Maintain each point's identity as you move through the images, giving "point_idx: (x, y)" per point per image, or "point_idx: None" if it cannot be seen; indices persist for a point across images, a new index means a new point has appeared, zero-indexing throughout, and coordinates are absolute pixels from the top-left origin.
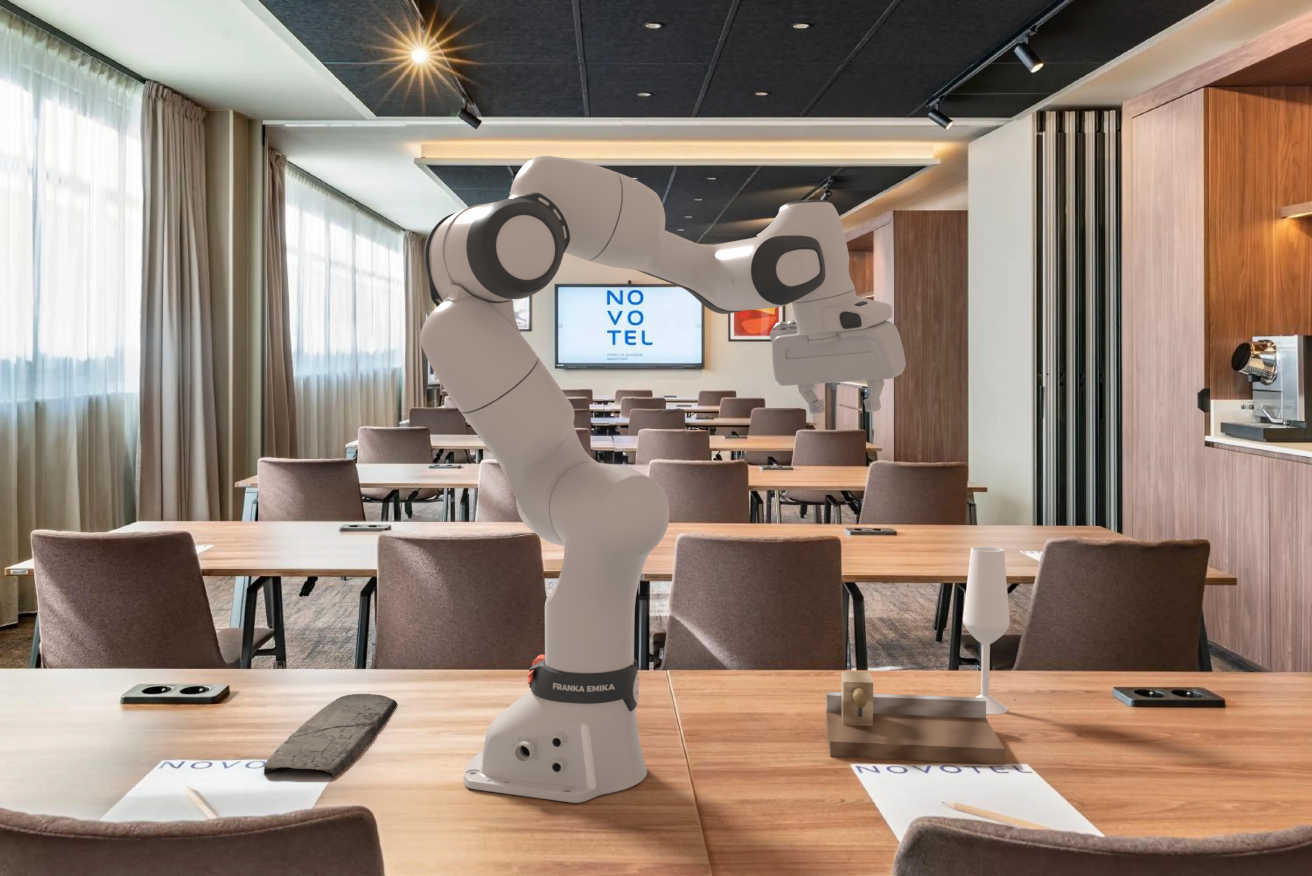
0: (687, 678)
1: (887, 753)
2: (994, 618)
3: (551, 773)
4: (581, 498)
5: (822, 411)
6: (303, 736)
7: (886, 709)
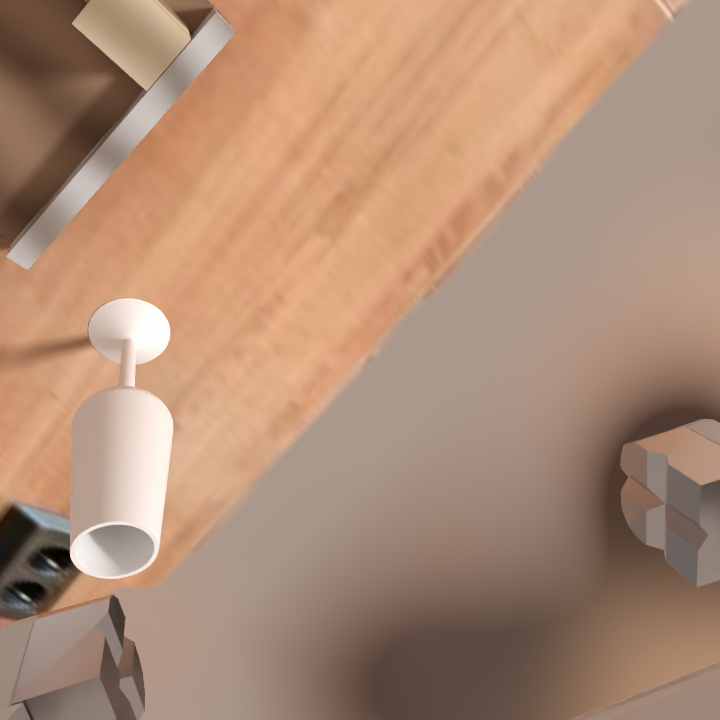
0: (610, 10)
1: None
2: (75, 423)
3: None
4: None
5: (625, 492)
6: None
7: (131, 105)
